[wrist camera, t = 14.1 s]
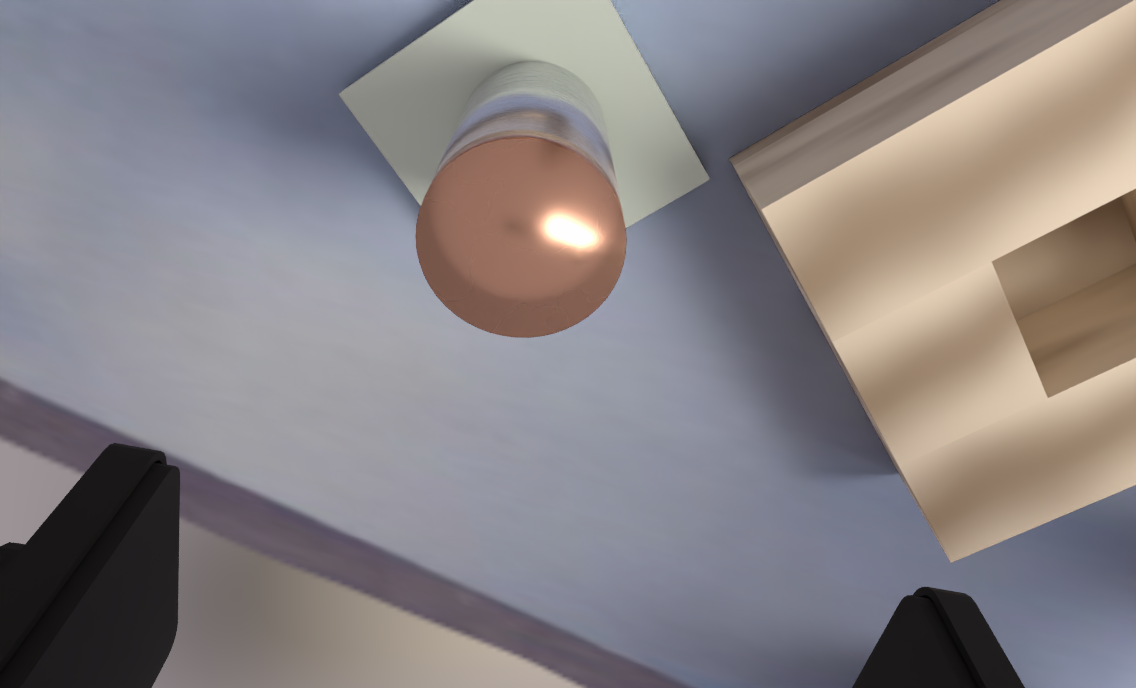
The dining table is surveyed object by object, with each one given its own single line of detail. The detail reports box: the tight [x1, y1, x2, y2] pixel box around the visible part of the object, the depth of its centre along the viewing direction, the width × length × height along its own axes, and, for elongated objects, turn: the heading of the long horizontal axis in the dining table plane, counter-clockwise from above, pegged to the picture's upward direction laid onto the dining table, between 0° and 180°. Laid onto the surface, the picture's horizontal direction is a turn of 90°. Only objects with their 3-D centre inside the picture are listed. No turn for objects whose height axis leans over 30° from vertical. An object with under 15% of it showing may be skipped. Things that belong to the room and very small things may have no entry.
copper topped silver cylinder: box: [416, 61, 626, 337], centre depth 26 cm, size 5×5×11 cm
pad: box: [338, 0, 710, 228], centre depth 32 cm, size 10×10×1 cm
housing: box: [729, 0, 1136, 563], centre depth 32 cm, size 18×18×6 cm
